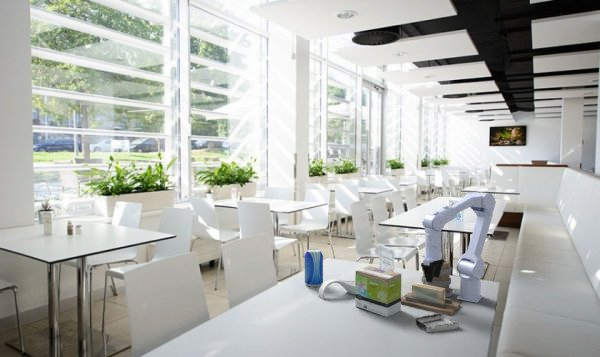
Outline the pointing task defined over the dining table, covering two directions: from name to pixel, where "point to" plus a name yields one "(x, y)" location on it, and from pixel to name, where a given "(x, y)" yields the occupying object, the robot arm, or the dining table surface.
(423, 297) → the pale wooden bar
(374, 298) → the tea box
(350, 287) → the white curved piece
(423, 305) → the walnut ledge
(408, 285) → the dining table surface
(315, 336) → the dining table surface
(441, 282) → the tankard
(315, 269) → the beer can
